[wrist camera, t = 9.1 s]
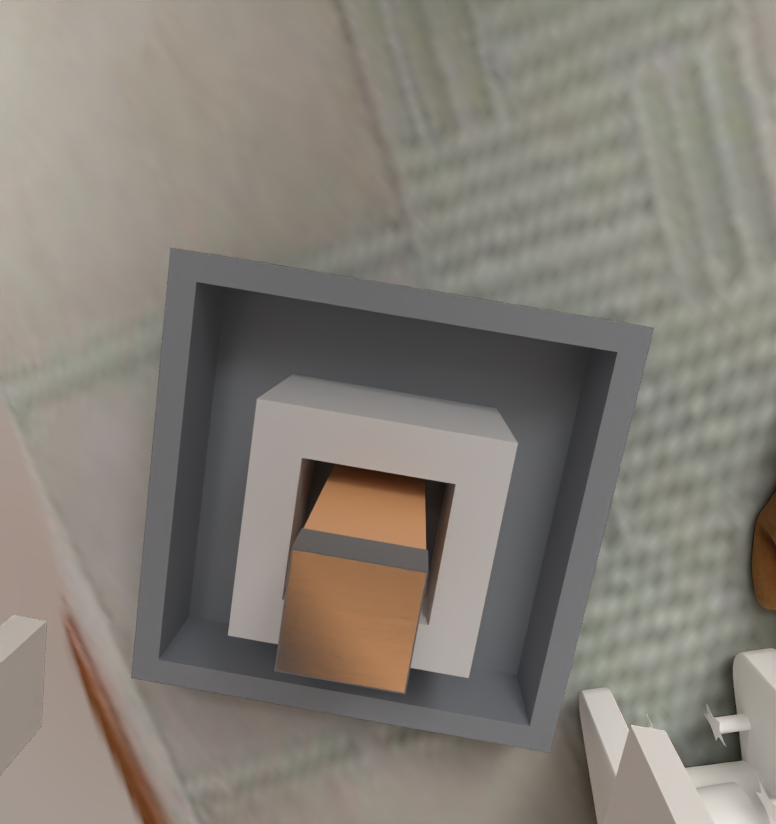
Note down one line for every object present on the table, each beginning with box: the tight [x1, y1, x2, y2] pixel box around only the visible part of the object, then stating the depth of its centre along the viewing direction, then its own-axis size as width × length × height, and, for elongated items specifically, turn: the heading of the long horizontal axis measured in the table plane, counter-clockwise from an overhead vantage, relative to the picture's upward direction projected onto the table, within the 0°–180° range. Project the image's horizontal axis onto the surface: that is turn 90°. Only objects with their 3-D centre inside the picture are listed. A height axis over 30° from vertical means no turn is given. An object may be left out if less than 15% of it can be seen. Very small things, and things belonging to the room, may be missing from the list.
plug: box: [274, 464, 429, 694], centre depth 24 cm, size 4×4×10 cm
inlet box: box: [131, 248, 654, 753], centre depth 29 cm, size 20×20×8 cm
